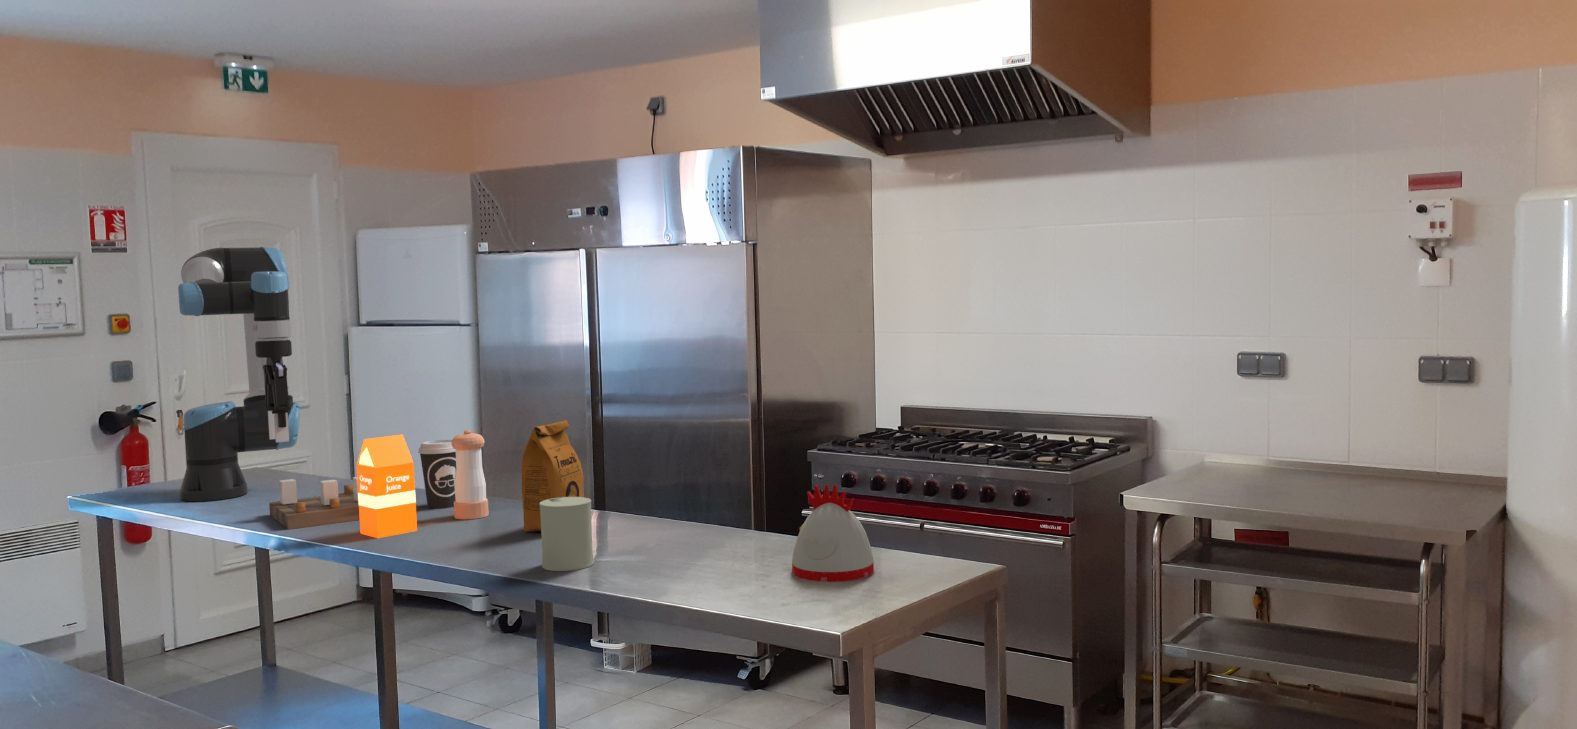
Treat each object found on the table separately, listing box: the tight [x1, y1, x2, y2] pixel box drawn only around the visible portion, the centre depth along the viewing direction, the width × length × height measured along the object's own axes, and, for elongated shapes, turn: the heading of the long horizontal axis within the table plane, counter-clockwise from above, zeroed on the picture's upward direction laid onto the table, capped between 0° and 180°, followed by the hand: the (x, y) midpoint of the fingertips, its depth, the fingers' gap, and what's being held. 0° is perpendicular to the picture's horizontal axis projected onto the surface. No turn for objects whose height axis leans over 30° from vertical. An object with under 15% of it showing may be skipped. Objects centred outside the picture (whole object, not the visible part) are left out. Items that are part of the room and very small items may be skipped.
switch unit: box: [268, 484, 360, 530], centre depth 254 cm, size 20×20×5 cm
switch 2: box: [319, 479, 339, 505], centre depth 250 cm, size 3×3×5 cm
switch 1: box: [278, 478, 298, 504], centre depth 253 cm, size 3×3×5 cm
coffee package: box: [521, 419, 585, 533], centre depth 233 cm, size 10×12×22 cm
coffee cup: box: [417, 439, 456, 510], centre depth 261 cm, size 10×10×15 cm
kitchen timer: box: [791, 483, 875, 583], centre depth 191 cm, size 14×14×15 cm
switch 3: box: [352, 476, 358, 501], centre depth 254 cm, size 3×3×5 cm
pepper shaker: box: [451, 429, 490, 520], centre depth 248 cm, size 7×7×19 cm
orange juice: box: [356, 433, 418, 539], centre depth 234 cm, size 8×9×20 cm
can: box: [539, 496, 595, 572], centre depth 201 cm, size 9×9×12 cm
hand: (279, 440), depth 257 cm, fingers open, 6 cm apart
